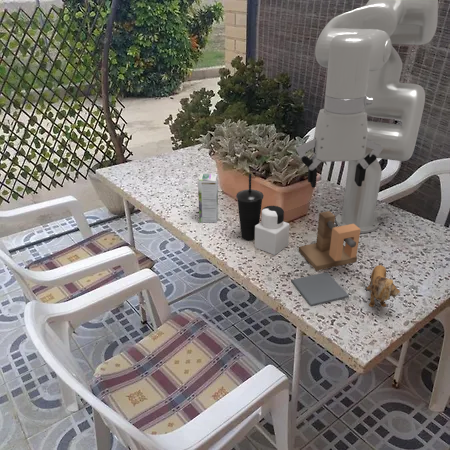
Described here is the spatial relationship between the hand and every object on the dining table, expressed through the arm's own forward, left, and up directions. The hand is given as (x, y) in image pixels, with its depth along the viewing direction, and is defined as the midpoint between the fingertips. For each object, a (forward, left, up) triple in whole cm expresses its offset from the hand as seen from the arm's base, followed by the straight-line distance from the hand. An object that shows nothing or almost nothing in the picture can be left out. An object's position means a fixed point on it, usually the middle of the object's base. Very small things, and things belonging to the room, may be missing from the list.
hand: (335, 184), depth 90 cm
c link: (-7, -4, -23) cm, 24 cm away
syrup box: (+17, -43, -27) cm, 54 cm away
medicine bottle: (+5, -21, -27) cm, 35 cm away
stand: (-7, -8, -27) cm, 29 cm away
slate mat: (+2, +1, -27) cm, 27 cm away
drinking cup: (+9, -28, -27) cm, 40 cm away
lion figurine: (-10, +9, -28) cm, 30 cm away
